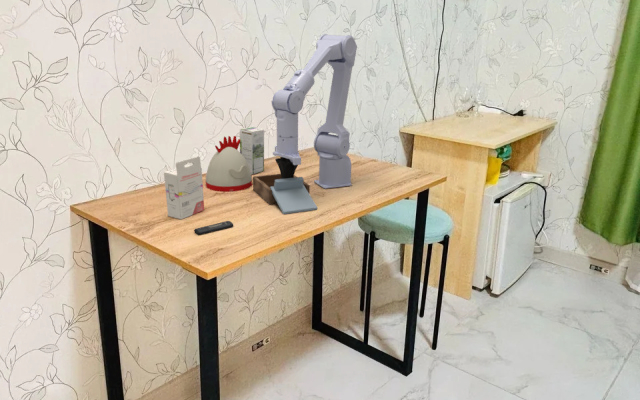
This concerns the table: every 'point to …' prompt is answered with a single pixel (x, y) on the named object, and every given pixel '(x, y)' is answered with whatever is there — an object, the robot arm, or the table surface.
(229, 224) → the usb stick
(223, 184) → the kitchen timer
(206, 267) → the table surface
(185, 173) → the ink cartridge box
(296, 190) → the lid
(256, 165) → the syrup box
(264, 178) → the box
